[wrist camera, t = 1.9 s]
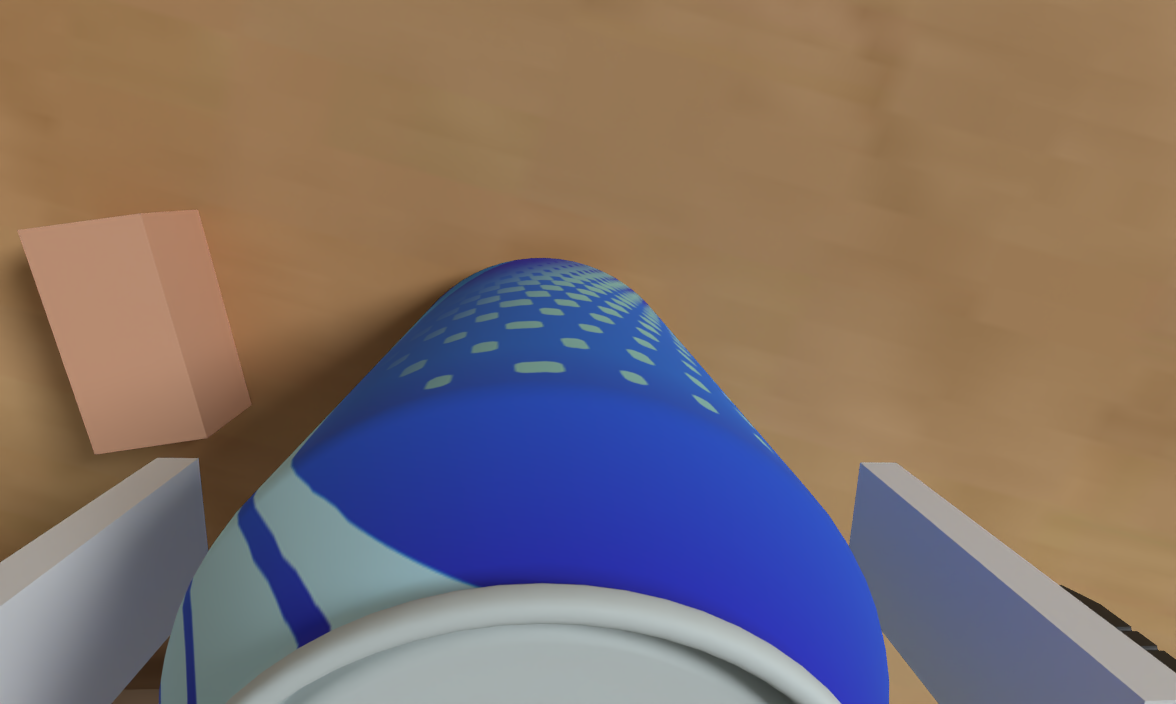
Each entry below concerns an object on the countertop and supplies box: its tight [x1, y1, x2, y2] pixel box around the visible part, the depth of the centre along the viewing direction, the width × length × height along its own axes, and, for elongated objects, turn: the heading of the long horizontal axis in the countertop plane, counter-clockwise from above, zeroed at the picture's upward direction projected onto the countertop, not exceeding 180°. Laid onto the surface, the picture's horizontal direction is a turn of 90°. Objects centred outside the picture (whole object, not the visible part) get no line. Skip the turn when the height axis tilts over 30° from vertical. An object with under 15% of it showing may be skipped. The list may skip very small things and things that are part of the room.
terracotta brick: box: [17, 210, 252, 455], centre depth 19 cm, size 6×3×3 cm, turn 8°
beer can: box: [159, 258, 889, 704], centre depth 13 cm, size 8×8×16 cm
